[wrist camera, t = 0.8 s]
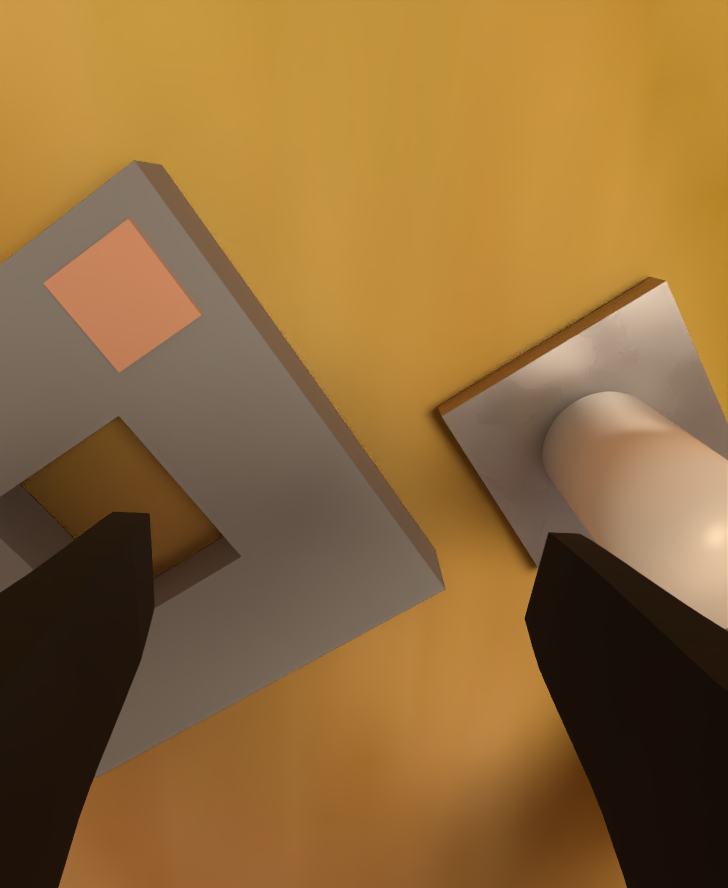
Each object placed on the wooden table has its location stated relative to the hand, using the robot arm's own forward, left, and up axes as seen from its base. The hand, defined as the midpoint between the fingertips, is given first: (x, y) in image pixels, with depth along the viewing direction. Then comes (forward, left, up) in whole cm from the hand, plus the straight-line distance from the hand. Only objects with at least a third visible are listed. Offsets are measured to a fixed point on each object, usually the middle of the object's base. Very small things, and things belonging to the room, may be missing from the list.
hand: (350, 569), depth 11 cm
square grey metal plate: (-6, -6, -10) cm, 14 cm away
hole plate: (+1, +9, -10) cm, 14 cm away
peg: (-6, -6, -9) cm, 13 cm away
